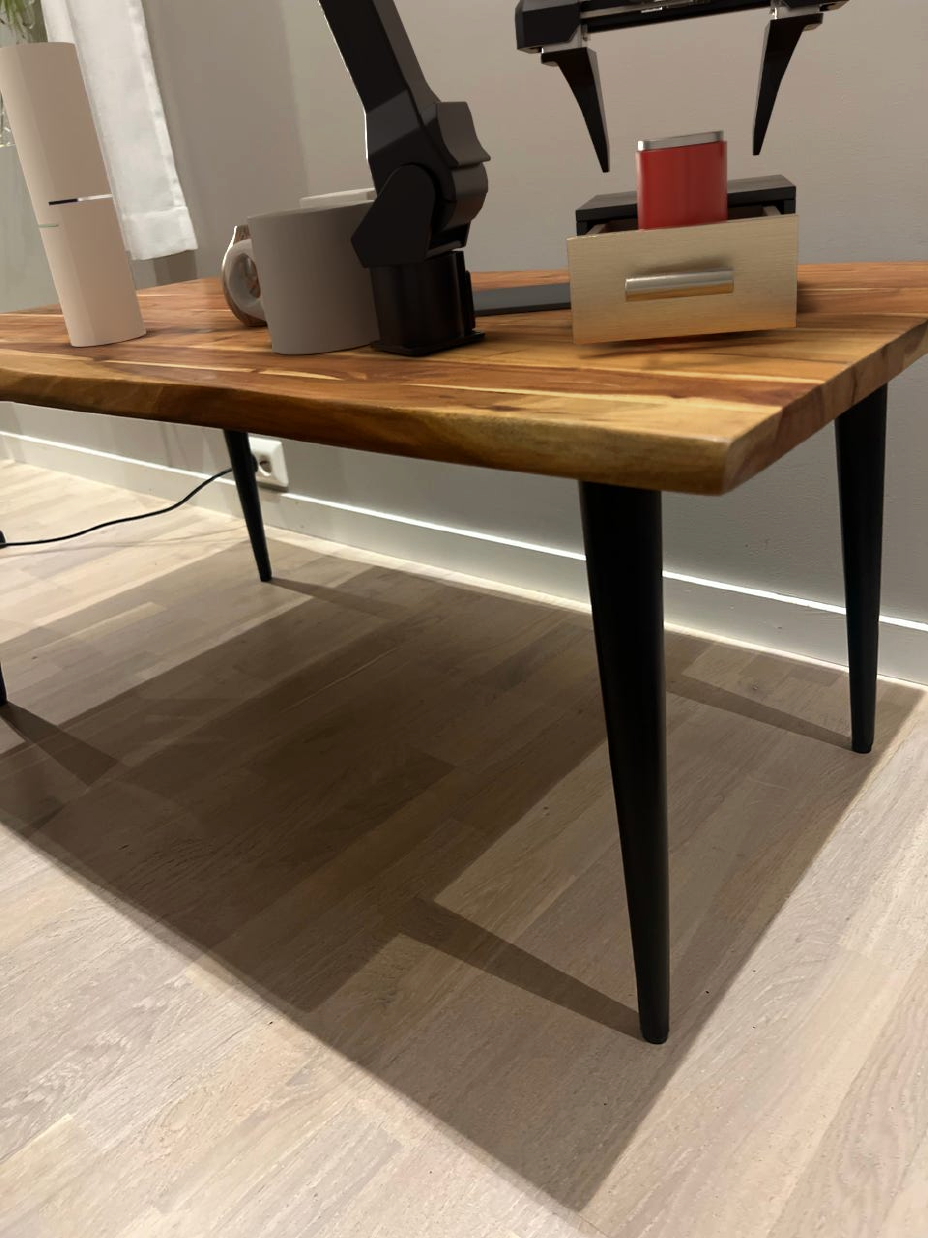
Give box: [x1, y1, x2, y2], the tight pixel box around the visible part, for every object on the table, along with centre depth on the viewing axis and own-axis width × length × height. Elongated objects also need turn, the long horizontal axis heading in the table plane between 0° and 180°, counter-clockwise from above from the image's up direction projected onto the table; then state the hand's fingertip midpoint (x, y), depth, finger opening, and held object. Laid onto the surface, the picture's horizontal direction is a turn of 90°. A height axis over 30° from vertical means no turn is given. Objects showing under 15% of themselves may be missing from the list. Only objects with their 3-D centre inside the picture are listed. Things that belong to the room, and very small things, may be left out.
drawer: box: [566, 202, 800, 345], centre depth 64 cm, size 18×13×6 cm
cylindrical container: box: [0, 41, 147, 348], centre depth 92 cm, size 7×7×25 cm
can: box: [634, 129, 728, 230], centre depth 64 cm, size 6×6×10 cm
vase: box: [220, 223, 268, 327], centre depth 93 cm, size 7×7×9 cm
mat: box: [472, 281, 571, 317], centre depth 88 cm, size 12×12×1 cm
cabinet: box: [574, 174, 797, 236], centre depth 75 cm, size 15×15×8 cm
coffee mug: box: [224, 200, 380, 355], centre depth 79 cm, size 13×10×10 cm
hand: (679, 163), depth 62 cm, fingers open, 9 cm apart
